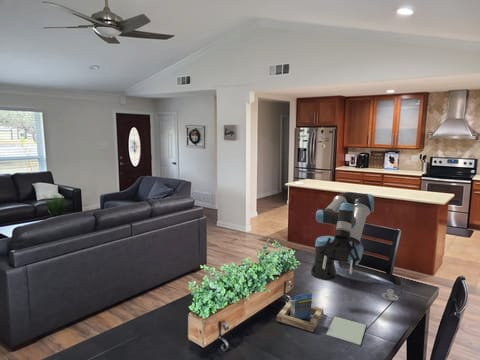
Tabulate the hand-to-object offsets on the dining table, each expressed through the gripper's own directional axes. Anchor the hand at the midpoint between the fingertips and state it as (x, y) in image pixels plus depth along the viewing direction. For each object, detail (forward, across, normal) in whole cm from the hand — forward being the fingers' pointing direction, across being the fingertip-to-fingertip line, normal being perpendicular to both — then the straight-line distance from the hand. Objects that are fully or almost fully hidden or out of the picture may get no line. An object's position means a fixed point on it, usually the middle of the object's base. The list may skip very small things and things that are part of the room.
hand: (336, 271), depth 171 cm
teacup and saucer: (+5, +21, +25) cm, 33 cm away
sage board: (+26, +11, -10) cm, 30 cm away
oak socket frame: (+26, -10, -12) cm, 30 cm away
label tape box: (+26, -10, -12) cm, 31 cm away
